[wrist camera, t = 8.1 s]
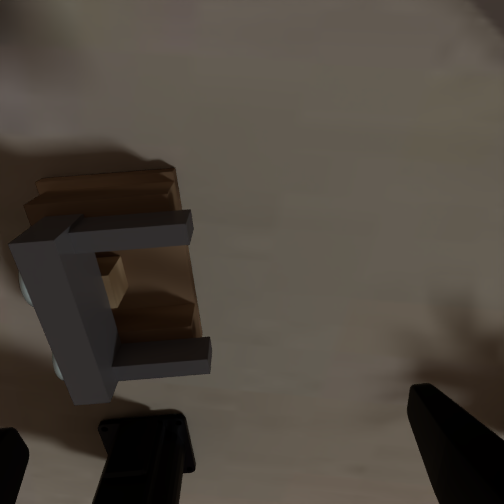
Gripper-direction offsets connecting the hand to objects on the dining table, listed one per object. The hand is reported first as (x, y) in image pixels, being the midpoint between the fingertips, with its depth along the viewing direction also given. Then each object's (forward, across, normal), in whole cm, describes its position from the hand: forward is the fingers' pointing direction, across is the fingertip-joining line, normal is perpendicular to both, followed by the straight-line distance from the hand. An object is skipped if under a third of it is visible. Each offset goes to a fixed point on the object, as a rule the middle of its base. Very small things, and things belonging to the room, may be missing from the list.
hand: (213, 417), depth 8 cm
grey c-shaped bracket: (+10, +5, +3) cm, 12 cm away
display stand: (+13, +6, +3) cm, 15 cm away
